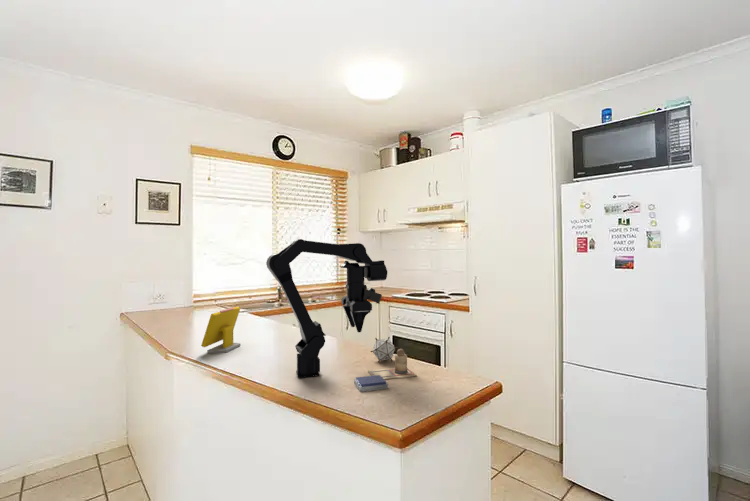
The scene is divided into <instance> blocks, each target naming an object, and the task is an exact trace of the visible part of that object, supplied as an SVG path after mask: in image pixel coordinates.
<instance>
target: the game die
mask: <svg viewBox="0 0 750 501" xmlns="http://www.w3.org/2000/svg"><path fill="white" fill-rule="evenodd" d="M390 339H391V338H390V336H388V338H382V339H381V338H379V339H378V338H377V337H375V338H374V340H376V341H375V343H374V346H373V349H372V350H371V351H370V353H373V354H374V356H375V357H376V358H377V360H378V361H377V363H380V362H381V361H389V360H390V361H391V362H394V361H393V356H394V353H395V351H396V349H399V348H398V346H395V345H394V344H393V342H392V341H391V340H390Z"/></svg>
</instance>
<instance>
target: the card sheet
mask: <svg viewBox="0 0 750 501" xmlns="http://www.w3.org/2000/svg"><path fill="white" fill-rule="evenodd" d="M407 369H408V373H406V374H396V373H395V367H393V368H382V369H372V370H367V373H368V374H369V376H375V375H380V376H381V377H382V378H383V379H384V380H385V381H386V380H395V379H404V378H413V377H418V375H417V374H416V373H415V372H413V371H411V369H410V368H409V367H407Z"/></svg>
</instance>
